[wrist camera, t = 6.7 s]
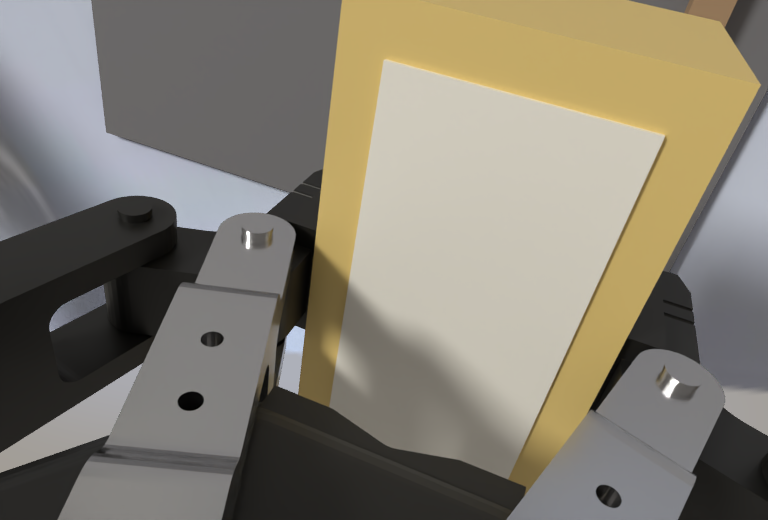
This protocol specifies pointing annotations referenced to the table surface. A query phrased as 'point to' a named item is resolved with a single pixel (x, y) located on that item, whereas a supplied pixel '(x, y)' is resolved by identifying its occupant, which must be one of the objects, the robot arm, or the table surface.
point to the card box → (503, 211)
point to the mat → (283, 79)
